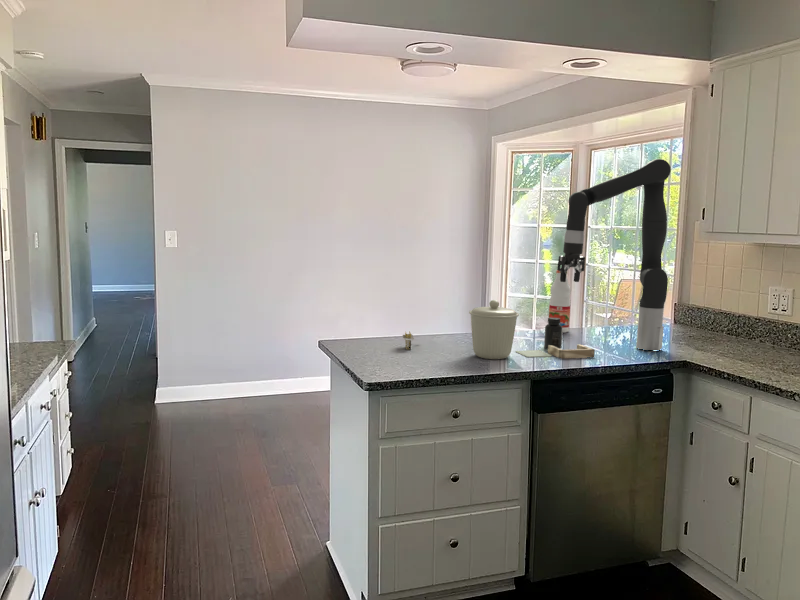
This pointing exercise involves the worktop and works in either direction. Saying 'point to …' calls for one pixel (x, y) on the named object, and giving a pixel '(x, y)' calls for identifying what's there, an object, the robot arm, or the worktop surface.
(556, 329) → the supplement bottle
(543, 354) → the sage tile
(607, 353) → the worktop surface
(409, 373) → the worktop surface
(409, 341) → the yellow figurine
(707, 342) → the worktop surface
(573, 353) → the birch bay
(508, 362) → the worktop surface
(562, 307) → the fruit juice
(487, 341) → the canister
